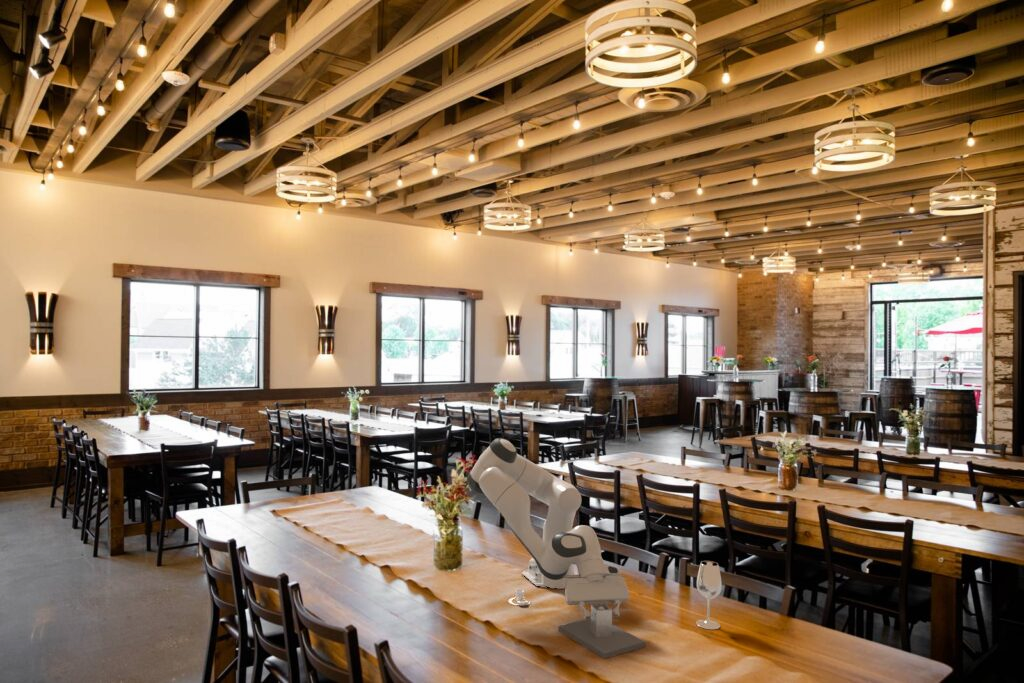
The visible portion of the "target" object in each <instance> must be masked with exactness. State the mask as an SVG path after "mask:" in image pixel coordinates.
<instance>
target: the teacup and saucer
mask: <svg viewBox="0 0 1024 683" xmlns="http://www.w3.org/2000/svg"><path fill="white" fill-rule="evenodd" d="M514 592H515V594H514V596H515V597H511V598H509V599H508V603H509V604H510V605H513V606H517V605H518V606H520V607H523V606H528V605H530V604H531V603H530V602H529V603H528V601H527V600H525V599H523V598H525V590H524V589H516V590H514ZM515 598H516V599H515ZM513 599H514V600H515V601H516V603H514V602H513Z"/></svg>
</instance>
